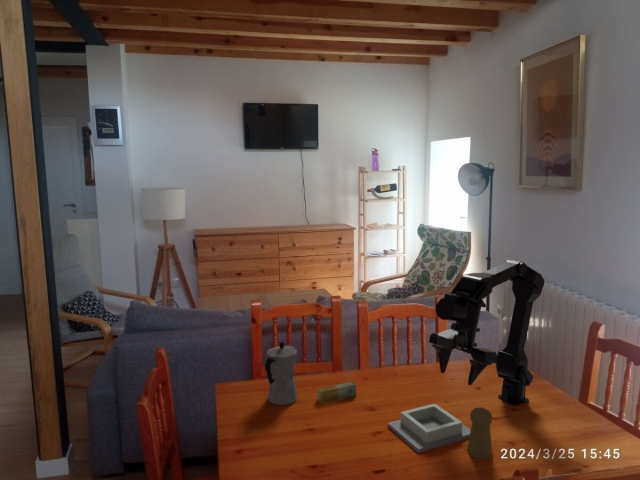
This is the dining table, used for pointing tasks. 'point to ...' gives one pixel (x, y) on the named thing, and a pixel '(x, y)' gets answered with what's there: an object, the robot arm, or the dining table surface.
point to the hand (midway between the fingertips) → (455, 378)
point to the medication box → (337, 392)
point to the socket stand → (429, 428)
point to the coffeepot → (281, 374)
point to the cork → (480, 434)
